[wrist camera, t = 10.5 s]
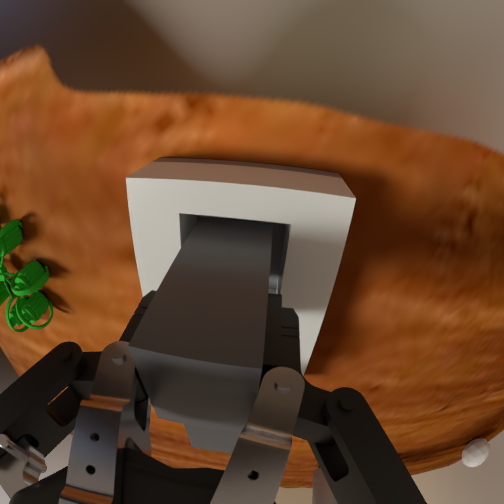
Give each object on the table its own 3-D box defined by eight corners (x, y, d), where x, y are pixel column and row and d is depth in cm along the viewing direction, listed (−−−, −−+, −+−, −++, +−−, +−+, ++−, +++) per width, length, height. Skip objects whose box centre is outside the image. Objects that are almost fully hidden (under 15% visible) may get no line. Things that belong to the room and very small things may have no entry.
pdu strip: (338, 173, 14) (397, 265, 7) (289, 374, 24) (286, 466, 16) (159, 157, 15) (56, 227, 7) (180, 360, 24) (153, 445, 17)
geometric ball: (487, 433, 38) (494, 458, 32) (461, 448, 42) (466, 472, 35) (484, 429, 36) (492, 456, 29) (456, 446, 40) (461, 472, 33)
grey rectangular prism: (272, 224, 13) (262, 368, 6) (263, 298, 16) (249, 433, 9) (199, 217, 13) (127, 345, 7) (201, 290, 16) (158, 417, 9)
